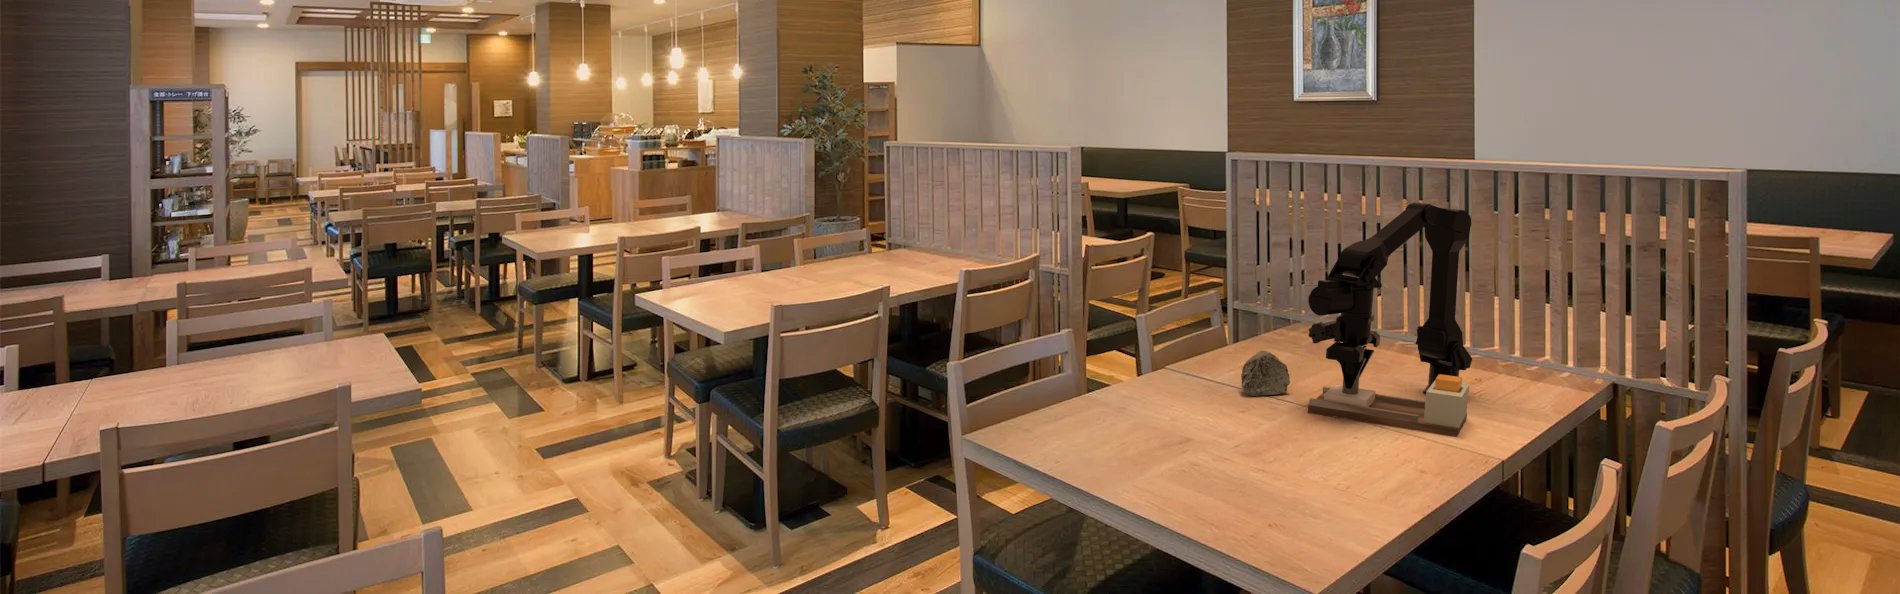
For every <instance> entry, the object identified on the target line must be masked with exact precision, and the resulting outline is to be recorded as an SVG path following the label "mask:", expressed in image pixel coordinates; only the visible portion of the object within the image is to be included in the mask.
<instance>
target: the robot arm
mask: <svg viewBox="0 0 1900 594" xmlns="http://www.w3.org/2000/svg"><path fill="white" fill-rule="evenodd" d="M1471 227H1472V216H1471V215H1469V213H1468V212H1467V211H1466V210H1464V209H1455V208H1446V207H1445V208H1444V207H1438V206H1435V205H1433V204H1431V203H1423V202H1412V203H1409V204H1408V205H1407V206H1406V207H1405V209H1404V210H1403V211H1402V212H1401V213H1400V214H1399V215H1398V216H1396V217H1395V218H1393V219H1392V220H1390V222H1389V223H1387V224H1386V225H1385V226H1383V228H1381V229H1380V230H1378V232H1376V233H1375V234H1374V235H1372V236H1371V237H1369V238H1367V239H1363V240H1360V241H1356V242H1354V243H1352V244H1350V245H1348V246H1347V247H1345V248H1344V249H1343V250H1342V251H1341V252H1340V253H1339V256H1338V258H1337V260H1336V262H1335V263H1334V265H1333V266H1332V269H1331V270H1330V272H1328V273H1329V274H1328V275H1327V276H1326V280H1325V279H1321V280H1318V281H1317V286H1316V287H1314V288H1313V289H1312V290H1311V291H1310V293H1309V295H1308V300H1307V301H1308V305H1309V308H1310V310H1311V311H1312V312H1313V313H1314V315H1317V316H1320V317H1321V316H1328V315H1329V316H1330V315H1336V314H1338V316H1337V317H1336V319H1335V320H1331V321H1328V322H1324V323H1323V322H1322V321H1320V322H1318V323H1316V322H1314V323H1313V324H1311V327H1309V328H1308V331H1309V334H1308V338H1310V339H1311V340H1312V343H1313V344H1319V343H1320V342H1324V341H1328V340H1332V339H1333V343H1332V344H1331V345H1330V346H1329V347H1327V348H1326V349H1325V352H1326V353H1325V359H1327V360H1332V361H1333V360H1334V361H1337V362H1338V363H1339V365H1340V369H1341V372H1342V379H1343V378H1344V382H1345V387H1346V388H1347V389H1352V387H1353V385H1354V383H1355V381H1356V379H1357V377H1358V375H1359V373H1360V375H1359V379H1360V378H1361V376H1362V374H1363V373H1364V371H1365V368H1366V367H1367V365H1368V363H1369V361H1370V359H1371V357H1372V356H1373V354H1374V353H1375V349H1369V348H1368V344H1370V345H1371V344H1372V345H1373V347H1374V348H1378V347H1379V346H1380V345H1381V344H1380V343H1381V336H1380V334H1379V333H1378V332H1377V331H1376V330H1371V329H1372V322H1374V321H1375V320H1374V319H1375V315H1373V304H1374V289H1380V288H1382V287H1383V285H1382V283H1381V282H1380V281H1379V280H1378V279H1377V277H1378V275H1380V273H1381V272H1382V271H1383V270H1384V269H1385V268H1386V267H1387V265H1388V263H1389V262H1388V261H1389V257H1390V256H1391V255H1392V254H1393V253H1394V252H1395V251H1396V250H1398V249H1400V247H1401V246H1403V245H1404V244H1405V243H1406V242H1407V241H1409V240H1410V239H1411V238H1412V237H1413V236H1414V235H1416V234H1417V233H1419V232H1420V231H1421V230H1422V229H1423V228H1424V237H1425V240H1426V242H1427V243H1428V245H1429V247H1430V249H1431V254H1432V255H1431V271H1430V289H1429V307H1428V317H1427V319H1426V320H1425V322H1424V323H1423V325H1419V326H1417V329H1416V341H1415V345H1417V351H1418V354H1419V359H1420V362H1421V363H1426V364H1429V371H1428V380H1427V381H1428V383H1427V386H1425V388H1424V390H1423V394H1425V395H1426V392H1427V390H1428V389H1429V388H1430V386H1431V385H1432V384H1433V382H1434V381H1435V380H1436V378H1437V376H1438V375H1439V374H1441V375H1449V376H1456V377H1460V371H1467V370H1468V369H1469V368H1470V367H1471V364H1472V362H1473V357H1472V356H1471V355H1470V353H1469V352H1468V350H1467V348H1466V347H1465V346H1464V339H1463V338H1464V336H1463V335H1464V334H1463V331H1462V329H1461V328H1460V325H1459V324H1458V322H1457V320H1456V310H1457V309H1456V308H1457V294H1458V293H1457V292H1458V277H1459V276H1458V275H1459V264H1460V263H1459V261H1460V260H1459V259H1460V251H1461V250H1462V249H1463V247H1464V246H1465V245H1466V244H1467V242H1468V241H1469V238H1470V234H1471Z"/></svg>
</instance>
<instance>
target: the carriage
mask: <svg viewBox="0 0 1900 594" xmlns="http://www.w3.org/2000/svg"><path fill="white" fill-rule="evenodd" d="M1359 375H1360V373H1359ZM1359 375H1358V377H1357V379H1356V381H1355V383H1354V385H1353V387H1352V389H1347V388H1346V387H1345V382H1344V378H1343V377H1342V385H1337V384H1333V385H1332V386H1331V387H1332V388H1330V389H1329V390H1328V391H1327V392H1326V393H1325V394H1324V400H1326V401H1332V402H1339V403H1345V404H1352V405H1358V406H1364V407H1369V406H1370V405H1371V404H1372V403H1373V402H1374V401H1375V394H1376V390H1372V389H1368V388H1367V389H1366V388H1359V386H1360V378H1359Z"/></svg>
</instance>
